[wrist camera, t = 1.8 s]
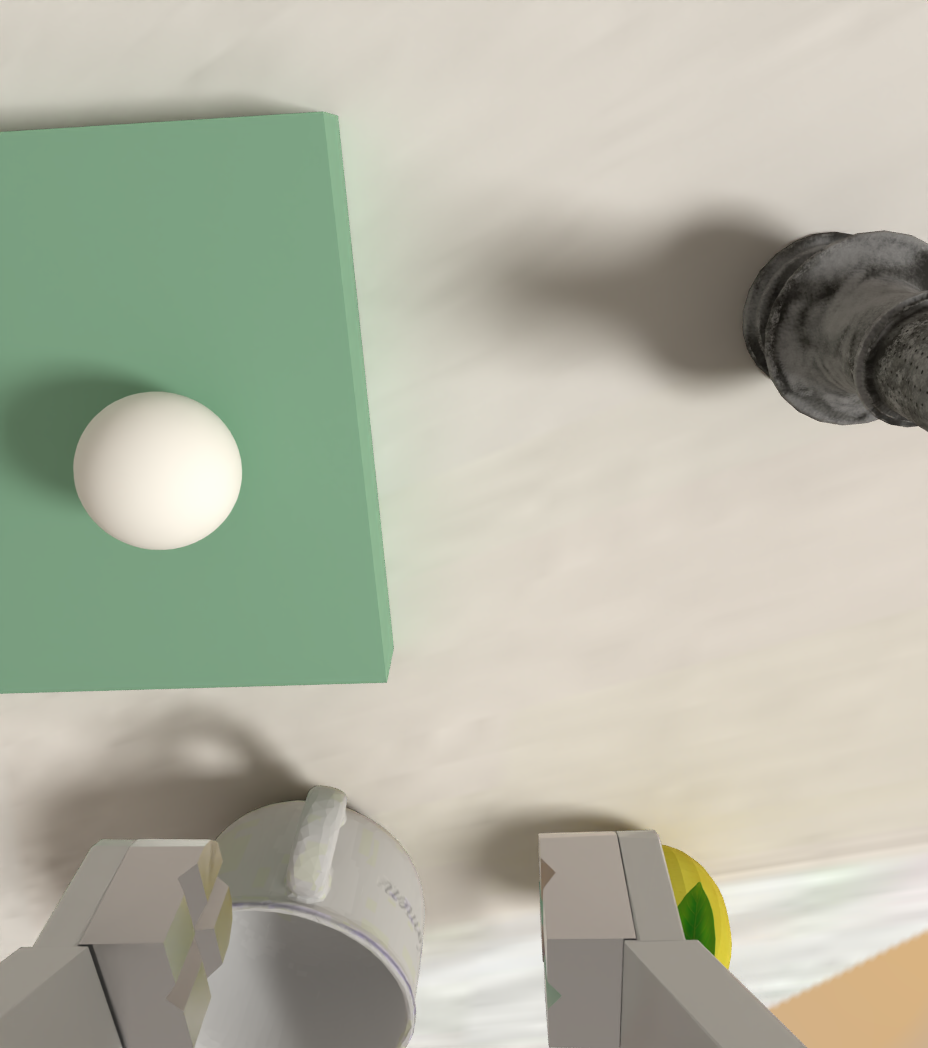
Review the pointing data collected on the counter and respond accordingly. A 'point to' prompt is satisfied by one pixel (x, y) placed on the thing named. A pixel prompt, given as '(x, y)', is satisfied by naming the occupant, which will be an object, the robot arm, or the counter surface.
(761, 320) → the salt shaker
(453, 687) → the counter surface
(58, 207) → the practice green
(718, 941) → the lemon
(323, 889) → the teacup
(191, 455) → the ball
